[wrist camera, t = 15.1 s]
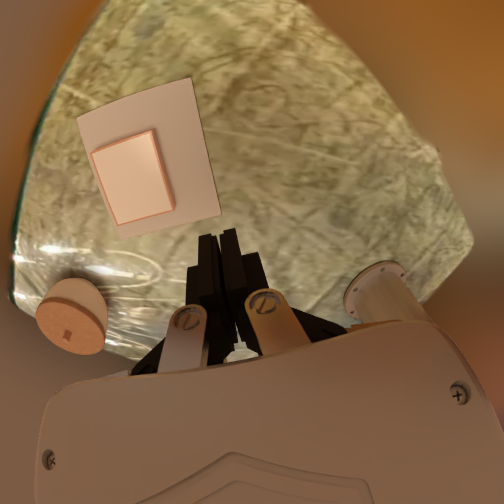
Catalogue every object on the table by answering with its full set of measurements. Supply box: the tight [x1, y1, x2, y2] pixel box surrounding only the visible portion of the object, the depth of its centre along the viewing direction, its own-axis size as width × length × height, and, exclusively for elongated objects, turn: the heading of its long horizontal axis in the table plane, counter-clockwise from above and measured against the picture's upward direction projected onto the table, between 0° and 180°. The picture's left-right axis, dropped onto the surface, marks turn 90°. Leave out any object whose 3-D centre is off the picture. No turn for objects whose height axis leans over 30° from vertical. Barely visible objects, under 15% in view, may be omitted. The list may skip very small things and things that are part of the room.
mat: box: [76, 77, 222, 240], centre depth 27 cm, size 16×13×1 cm
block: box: [90, 128, 176, 226], centre depth 26 cm, size 9×2×7 cm
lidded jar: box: [36, 277, 108, 355], centre depth 31 cm, size 11×11×9 cm
